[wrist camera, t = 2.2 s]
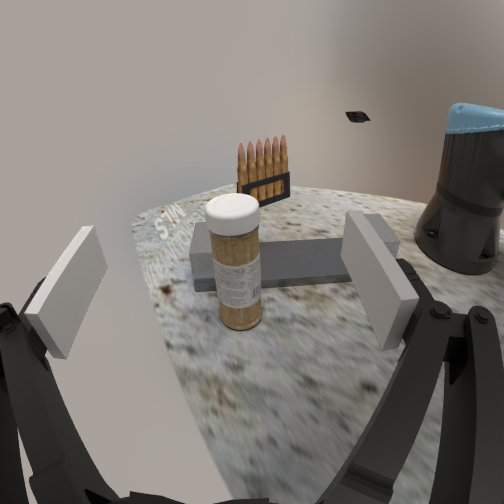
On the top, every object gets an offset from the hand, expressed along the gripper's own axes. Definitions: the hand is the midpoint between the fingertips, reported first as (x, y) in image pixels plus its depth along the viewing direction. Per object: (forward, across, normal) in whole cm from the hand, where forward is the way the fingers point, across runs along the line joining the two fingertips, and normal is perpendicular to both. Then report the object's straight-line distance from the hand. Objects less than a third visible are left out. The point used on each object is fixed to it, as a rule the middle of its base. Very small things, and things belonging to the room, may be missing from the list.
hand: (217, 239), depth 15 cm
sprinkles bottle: (+10, 0, -16) cm, 19 cm away
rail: (+19, +8, -16) cm, 26 cm away
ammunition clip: (+38, +5, -16) cm, 41 cm away
